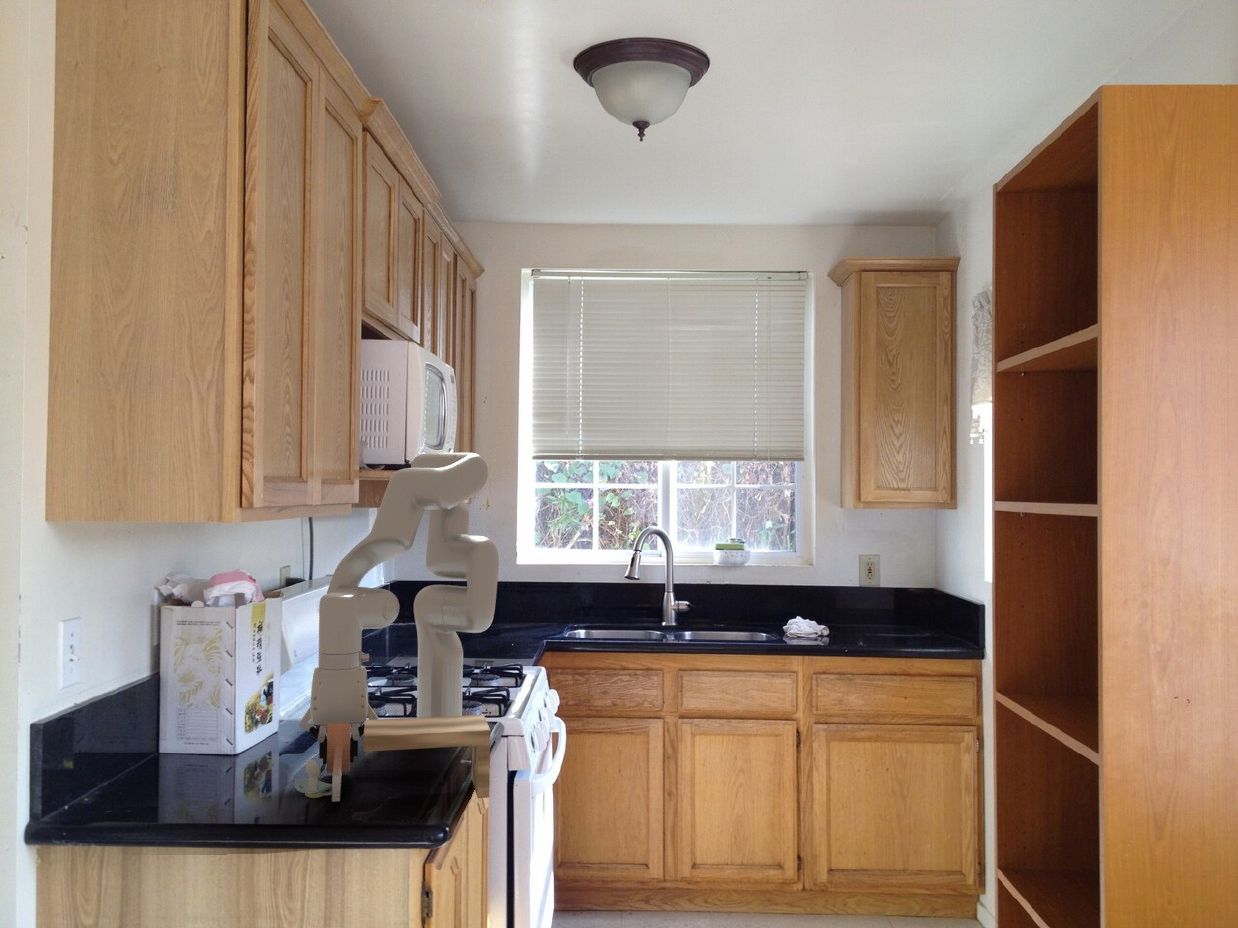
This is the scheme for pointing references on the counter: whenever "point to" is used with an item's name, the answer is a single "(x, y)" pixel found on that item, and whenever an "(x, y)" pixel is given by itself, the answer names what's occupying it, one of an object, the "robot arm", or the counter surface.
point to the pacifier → (313, 782)
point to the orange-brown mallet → (338, 754)
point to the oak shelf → (436, 739)
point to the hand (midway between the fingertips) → (338, 760)
